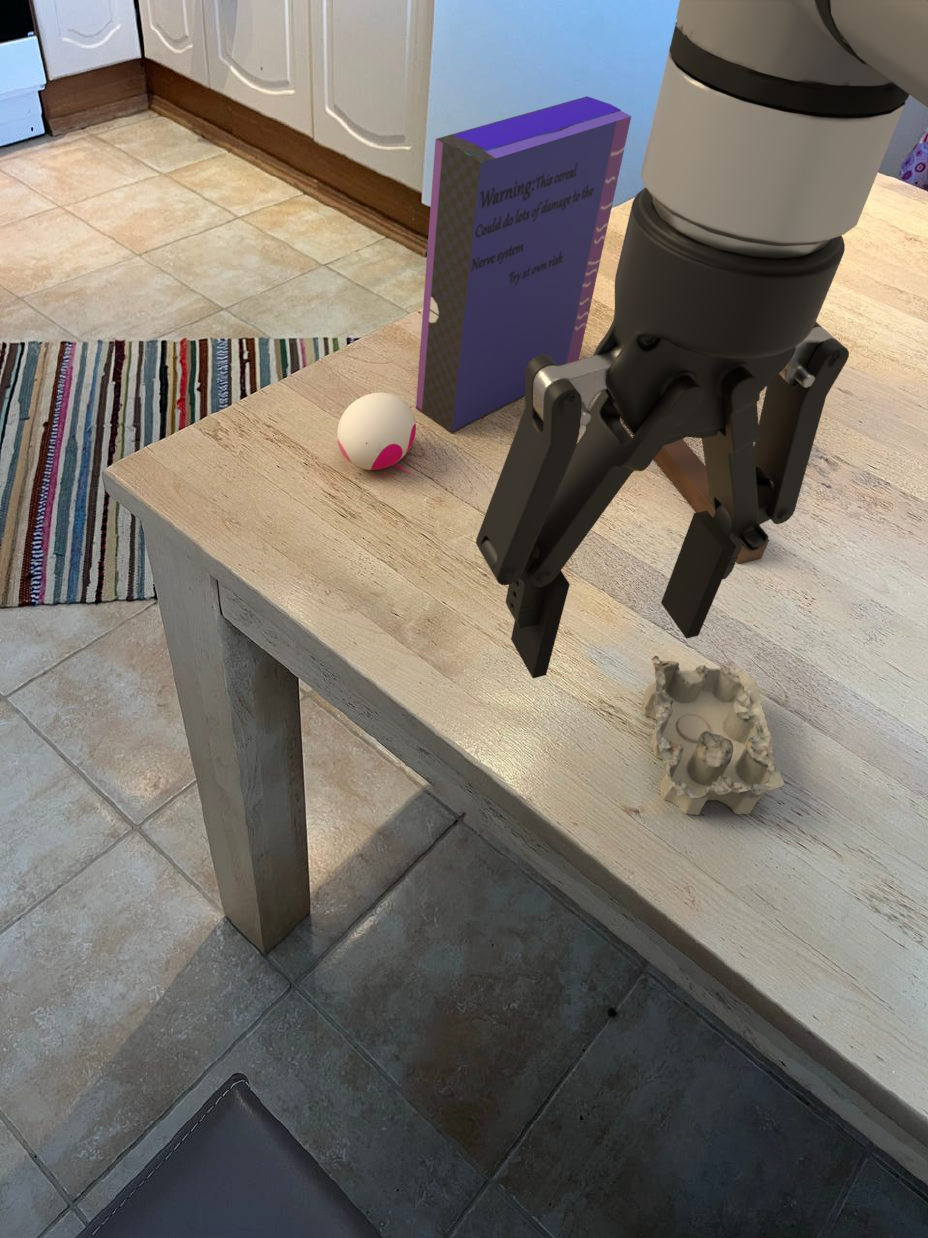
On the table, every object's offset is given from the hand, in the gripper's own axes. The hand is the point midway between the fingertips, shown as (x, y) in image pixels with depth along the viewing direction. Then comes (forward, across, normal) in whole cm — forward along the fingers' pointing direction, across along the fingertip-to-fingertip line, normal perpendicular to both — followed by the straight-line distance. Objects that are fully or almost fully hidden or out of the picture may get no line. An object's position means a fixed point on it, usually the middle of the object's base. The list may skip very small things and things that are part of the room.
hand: (606, 637), depth 49 cm
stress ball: (+16, 0, -35) cm, 38 cm away
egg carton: (+16, -11, 0) cm, 19 cm away
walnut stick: (+15, -25, -25) cm, 39 cm away
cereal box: (+16, -14, -43) cm, 48 cm away
